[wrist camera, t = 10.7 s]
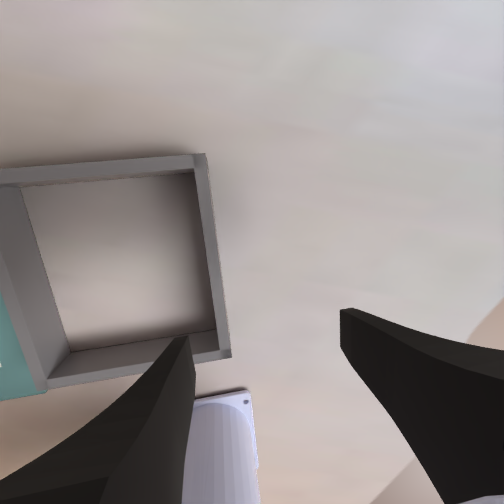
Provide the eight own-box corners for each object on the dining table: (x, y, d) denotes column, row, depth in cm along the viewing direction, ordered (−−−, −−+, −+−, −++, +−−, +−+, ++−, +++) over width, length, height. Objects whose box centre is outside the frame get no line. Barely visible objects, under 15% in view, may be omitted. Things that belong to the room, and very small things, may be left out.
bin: (229, 335, 21) (231, 357, 19) (63, 362, 20) (37, 391, 17) (206, 159, 18) (205, 153, 15) (2, 175, 16) (-44, 172, 14)
